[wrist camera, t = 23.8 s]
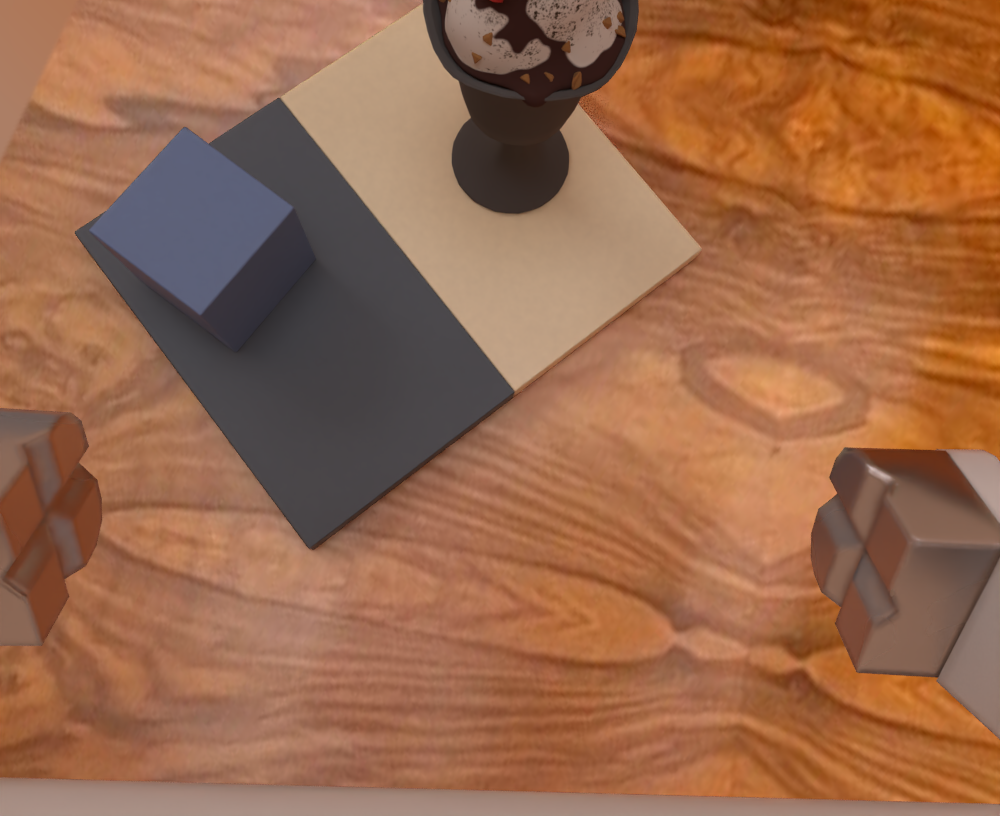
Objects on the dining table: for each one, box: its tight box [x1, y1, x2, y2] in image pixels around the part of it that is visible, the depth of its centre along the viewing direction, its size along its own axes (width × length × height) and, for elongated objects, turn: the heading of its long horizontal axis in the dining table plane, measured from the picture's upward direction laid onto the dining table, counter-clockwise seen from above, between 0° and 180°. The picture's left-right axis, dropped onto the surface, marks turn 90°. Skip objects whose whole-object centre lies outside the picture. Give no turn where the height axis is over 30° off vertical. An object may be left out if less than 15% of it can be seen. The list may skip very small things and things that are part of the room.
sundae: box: [423, 0, 639, 214], centre depth 29 cm, size 7×7×15 cm
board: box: [75, 3, 702, 549], centre depth 36 cm, size 16×20×1 cm
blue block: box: [89, 127, 316, 352], centre depth 33 cm, size 5×5×5 cm
